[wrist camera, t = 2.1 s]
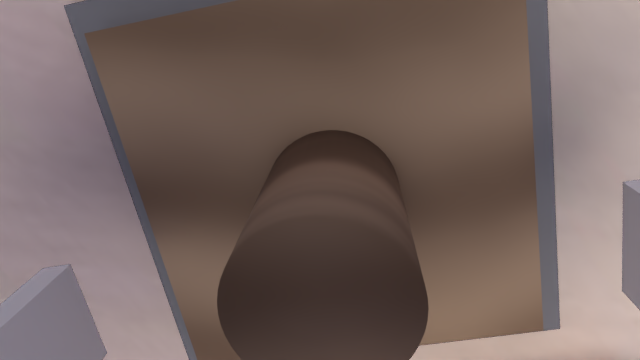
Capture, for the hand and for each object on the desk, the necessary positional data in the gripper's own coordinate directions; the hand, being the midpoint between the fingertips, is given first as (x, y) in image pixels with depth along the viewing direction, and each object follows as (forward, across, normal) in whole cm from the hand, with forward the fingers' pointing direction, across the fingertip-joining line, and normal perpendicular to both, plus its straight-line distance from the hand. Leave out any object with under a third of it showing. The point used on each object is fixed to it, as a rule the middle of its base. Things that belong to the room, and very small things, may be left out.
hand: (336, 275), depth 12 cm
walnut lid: (+6, 0, 0) cm, 6 cm away
